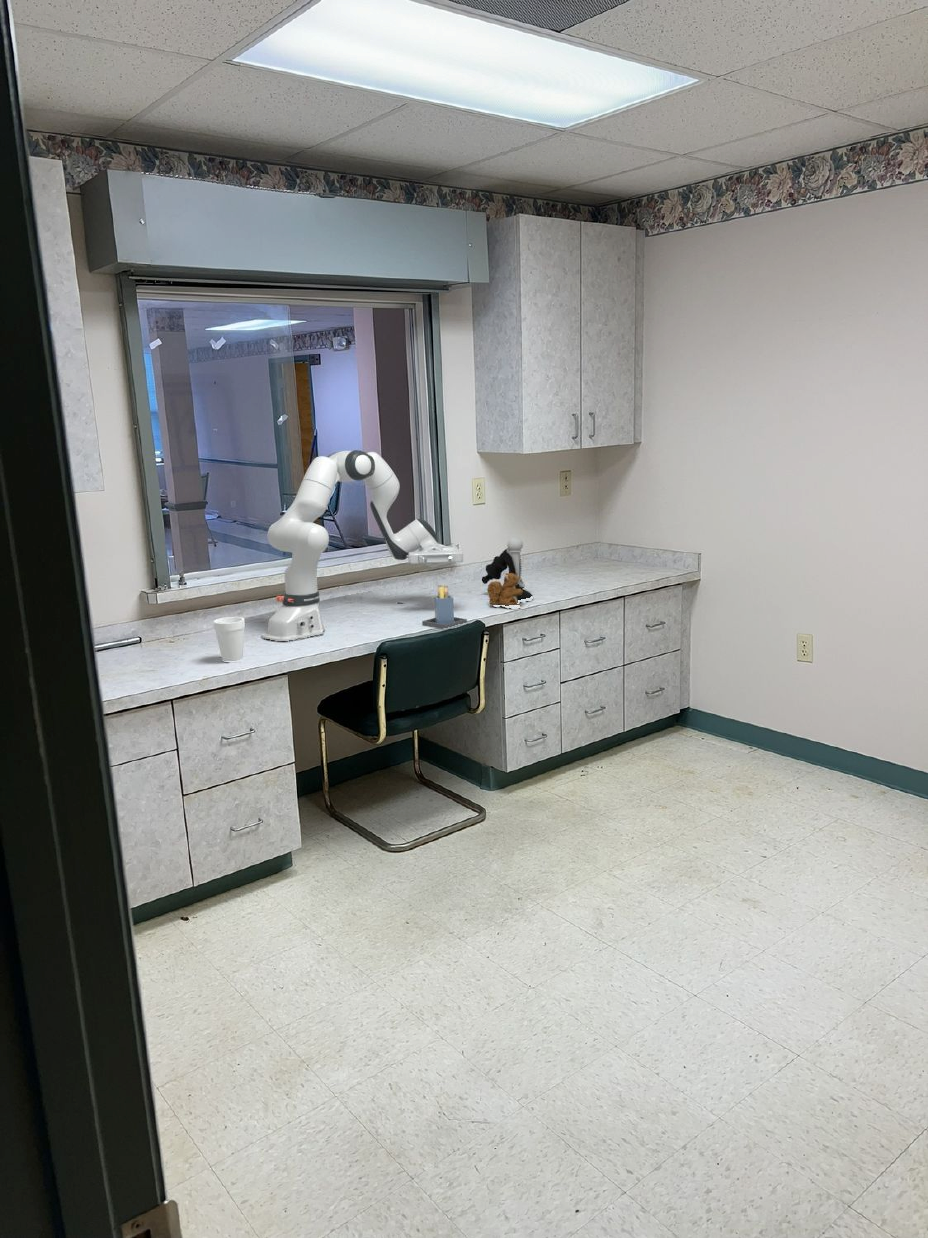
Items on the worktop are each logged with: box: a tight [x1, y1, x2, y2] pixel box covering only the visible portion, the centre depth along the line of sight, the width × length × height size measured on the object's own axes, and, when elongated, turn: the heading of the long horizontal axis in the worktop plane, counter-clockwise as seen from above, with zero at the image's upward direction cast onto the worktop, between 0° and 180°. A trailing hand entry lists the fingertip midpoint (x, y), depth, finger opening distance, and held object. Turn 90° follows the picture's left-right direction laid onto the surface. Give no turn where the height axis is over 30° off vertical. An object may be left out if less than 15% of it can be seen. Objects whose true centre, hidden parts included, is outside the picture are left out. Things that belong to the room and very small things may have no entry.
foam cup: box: [213, 616, 246, 661], centre depth 289 cm, size 10×9×13 cm
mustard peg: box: [439, 586, 444, 598], centre depth 324 cm, size 2×2×13 cm
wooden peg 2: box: [443, 585, 450, 598], centre depth 325 cm, size 2×2×13 cm
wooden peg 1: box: [437, 585, 443, 599], centre depth 326 cm, size 2×2×13 cm
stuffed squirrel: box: [486, 572, 523, 606], centre depth 354 cm, size 10×14×13 cm
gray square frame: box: [421, 616, 468, 630], centre depth 327 cm, size 11×11×2 cm
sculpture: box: [481, 537, 534, 600], centre depth 368 cm, size 15×24×25 cm, turn 51°
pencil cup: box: [433, 594, 455, 625], centre depth 326 cm, size 6×6×10 cm
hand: (437, 559), depth 332 cm, fingers open, 8 cm apart
